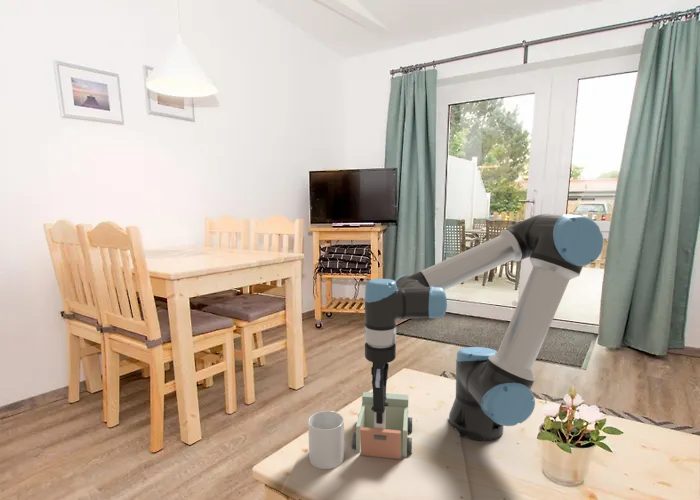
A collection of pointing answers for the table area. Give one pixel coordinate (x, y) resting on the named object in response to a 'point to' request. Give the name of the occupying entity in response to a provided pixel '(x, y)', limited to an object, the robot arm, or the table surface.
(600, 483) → the table surface
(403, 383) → the table surface
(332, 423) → the mug
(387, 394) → the truck bed
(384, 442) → the panel
